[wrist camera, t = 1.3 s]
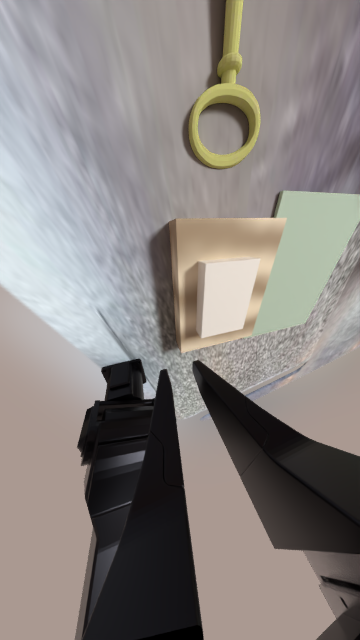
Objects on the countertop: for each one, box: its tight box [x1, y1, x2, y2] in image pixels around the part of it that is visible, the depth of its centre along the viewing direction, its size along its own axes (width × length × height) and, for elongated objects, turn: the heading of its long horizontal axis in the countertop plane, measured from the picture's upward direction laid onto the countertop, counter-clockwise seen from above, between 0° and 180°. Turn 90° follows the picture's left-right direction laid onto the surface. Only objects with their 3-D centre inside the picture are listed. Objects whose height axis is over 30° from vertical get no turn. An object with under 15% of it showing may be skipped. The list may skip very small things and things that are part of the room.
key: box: [189, 0, 260, 169], centre depth 11 cm, size 7×12×2 cm, turn 24°
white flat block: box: [196, 257, 260, 338], centre depth 19 cm, size 10×7×2 cm
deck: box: [169, 218, 287, 353], centre depth 21 cm, size 18×14×3 cm
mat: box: [243, 191, 360, 339], centre depth 26 cm, size 24×18×1 cm
